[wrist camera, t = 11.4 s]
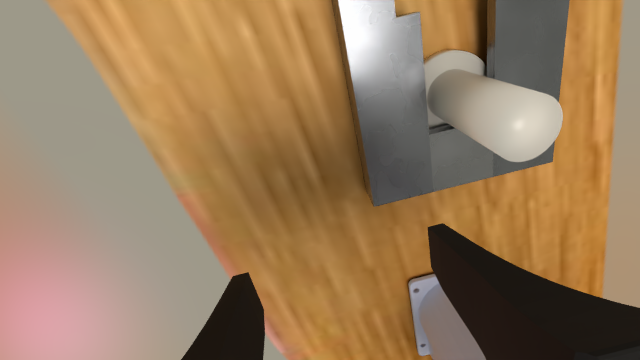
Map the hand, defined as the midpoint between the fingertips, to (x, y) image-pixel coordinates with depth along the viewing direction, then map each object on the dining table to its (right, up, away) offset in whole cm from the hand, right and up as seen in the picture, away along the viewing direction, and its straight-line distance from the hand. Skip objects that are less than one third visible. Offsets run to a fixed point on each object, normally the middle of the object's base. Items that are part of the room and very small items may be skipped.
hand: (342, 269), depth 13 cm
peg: (+7, +9, +8) cm, 14 cm away
